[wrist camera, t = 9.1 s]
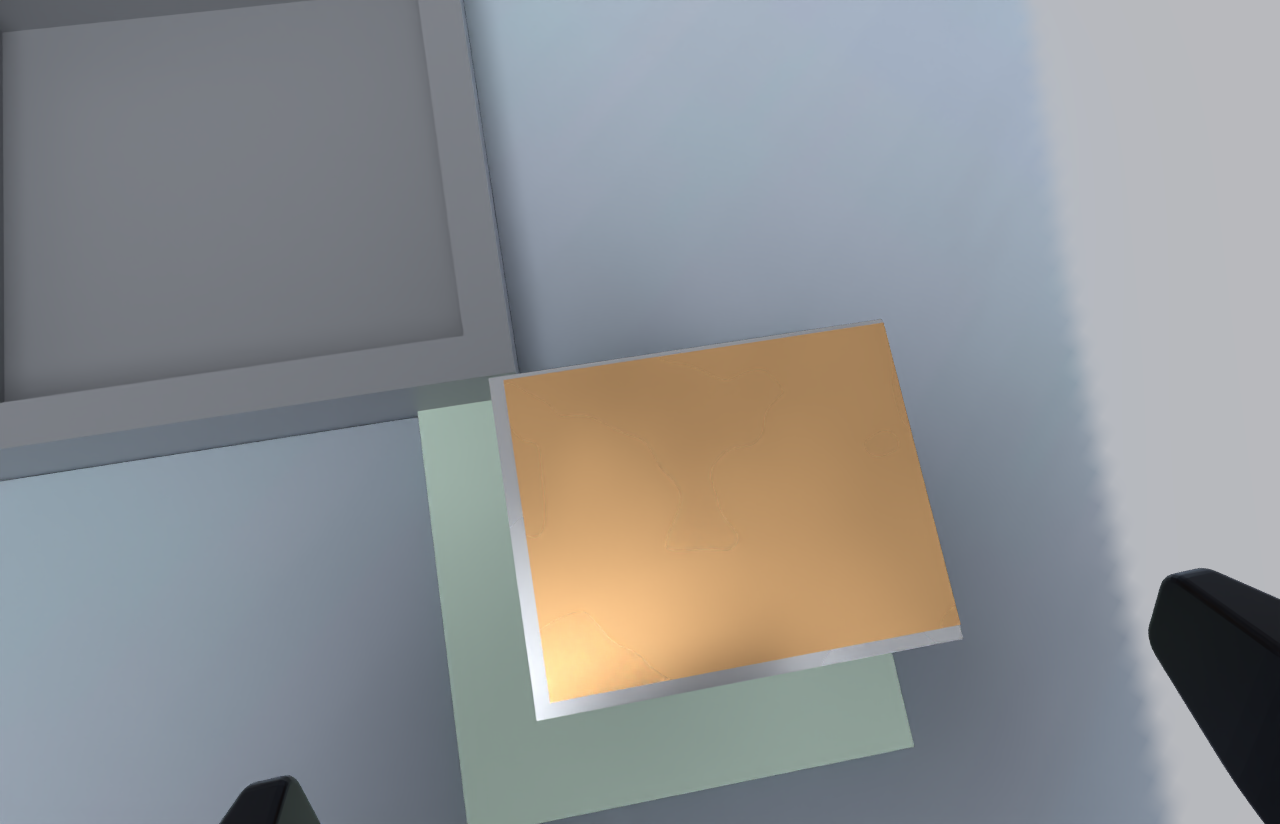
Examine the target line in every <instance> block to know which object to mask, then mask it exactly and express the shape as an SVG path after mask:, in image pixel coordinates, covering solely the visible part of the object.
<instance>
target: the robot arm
mask: <svg viewBox="0 0 1280 824" xmlns="http://www.w3.org/2000/svg"><path fill="white" fill-rule="evenodd" d="M1148 634H1149V640H1150V644H1151V647H1152V649H1153V651H1154V653H1155V655H1156V657H1157V658H1158V660H1159V662H1160V663H1161V665H1162V667H1163V668H1164V670H1165V671H1166V673H1167V675H1168V676H1169V678H1170V680H1171V681H1172V683H1173V684H1174V686H1175V688H1176V689H1177V691H1178V693H1179V694H1180V696H1181V697H1182V699H1183V701H1184V702H1185V704H1186V705H1187V707H1188V709H1189V710H1190V712H1191V714H1192V715H1193V717H1194V718H1195V720H1196V722H1197V723H1198V725H1199V727H1200V728H1201V730H1202V731H1203V733H1204V735H1205V736H1206V738H1207V740H1208V741H1209V743H1210V745H1211V746H1212V748H1213V749H1214V751H1215V752H1216V754H1217V756H1218V757H1219V759H1220V761H1221V762H1222V764H1223V765H1224V767H1225V768H1226V770H1227V772H1228V773H1229V775H1230V776H1231V778H1232V779H1233V781H1234V782H1235V784H1236V785H1237V787H1238V788H1239V789H1240V791H1241V792H1242V794H1243V795H1244V796H1245V797H1246V799H1247V801H1248V802H1249V803H1250V805H1251V806H1252V807H1253V809H1254V810H1255V811H1256V813H1257V814H1258V815H1259V817H1260V818H1261V820H1262V821H1263V822H1264V823H1265V824H1280V599H1278V598H1276V597H1273V596H1271V595H1269V594H1267V593H1264V592H1262V591H1260V590H1257V589H1255V588H1253V587H1251V586H1248V585H1246V584H1244V583H1242V582H1239V581H1237V580H1235V579H1232V578H1230V577H1228V576H1226V575H1223V574H1221V573H1219V572H1216V571H1214V570H1211V569H1206V568H1198V569H1193V570H1188V571H1183V572H1179V573H1175V574H1171V575H1169V576H1167V577H1166V578H1165V579H1164V580H1163V581H1162V583H1161V586H1160V589H1159V593H1158V597H1157V600H1156V603H1155V607H1154V610H1153V614H1152V617H1151V621H1150V624H1149V629H1148ZM219 824H320V822H319V820H318V818H317V816H316V814H315V812H314V810H313V809H312V807H311V805H310V803H309V801H308V799H307V797H306V795H305V794H304V792H303V790H302V788H301V786H300V784H299V783H298V781H297V780H296V779H295V778H294V777H292V776H290V775H285V776H280V777H276V778H271V779H267V780H263V781H258V782H255V783H252V784H250V785H249V786H247V787H246V788H245V789H244V790H243V791H242V792H241V793H240V795H239V796H238V798H237V799H236V800H235V802H234V803H233V805H232V806H231V808H230V809H229V811H228V812H227V813H226V815H225V816H224V818H223V819H222V821H221V822H220V823H219Z"/></svg>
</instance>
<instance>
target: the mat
mask: <svg viewBox="0 0 1280 824" xmlns="http://www.w3.org/2000/svg"><path fill="white" fill-rule="evenodd" d="M418 419H419V427H420V436H421V444H422V452H423V461H424V469H425V477H426V486H427V494H428V502H429V511H430V519H431V527H432V536H433V544H434V552H435V561H436V569H437V577H438V586H439V594H440V602H441V611H442V619H443V627H444V636H445V644H446V652H447V661H448V669H449V677H450V686H451V694H452V702H453V711H454V719H455V727H456V736H457V744H458V752H459V761H460V769H461V777H462V786H463V794H464V802H465V811H466V819H467V824H539V823H544V822H549V821H554V820H558V819H563V818H568V817H573V816H578V815H583V814H588V813H593V812H598V811H602V810H607V809H612V808H617V807H622V806H627V805H632V804H637V803H642V802H647V801H651V800H656V799H661V798H666V797H671V796H676V795H681V794H686V793H691V792H695V791H700V790H705V789H710V788H715V787H720V786H725V785H730V784H735V783H740V782H744V781H749V780H754V779H759V778H764V777H769V776H774V775H779V774H784V773H789V772H793V771H798V770H803V769H808V768H813V767H818V766H823V765H828V764H833V763H837V762H842V761H847V760H852V759H857V758H862V757H867V756H872V755H877V754H882V753H886V752H891V751H896V750H901V749H906V748H911V747H914V744H913V740H912V735H911V731H910V727H909V723H908V718H907V714H906V710H905V706H904V701H903V697H902V693H901V689H900V684H899V680H898V676H897V672H896V668H895V663H894V659H893V655H892V653H888V654H883V655H878V656H873V657H867V658H862V659H857V660H852V661H847V662H841V663H836V664H831V665H826V666H821V667H815V668H810V669H805V670H800V671H795V672H789V673H784V674H779V675H774V676H768V677H763V678H758V679H753V680H748V681H742V682H737V683H732V684H727V685H722V686H716V687H711V688H706V689H701V690H696V691H690V692H685V693H680V694H675V695H670V696H664V697H659V698H654V699H649V700H644V701H638V702H633V703H628V704H623V705H618V706H612V707H607V708H602V709H597V710H591V711H586V712H581V713H576V714H571V715H565V716H560V717H555V718H550V719H545V720H539V721H537V719H536V712H535V705H534V698H533V691H532V684H531V677H530V670H529V662H528V655H527V648H526V641H525V634H524V627H523V620H522V613H521V606H520V599H519V592H518V584H517V577H516V570H515V563H514V556H513V549H512V542H511V535H510V528H509V521H508V514H507V506H506V499H505V492H504V485H503V478H502V471H501V464H500V457H499V450H498V443H497V435H496V428H495V421H494V414H493V407H492V400H488V401H482V402H475V403H469V404H462V405H456V406H449V407H443V408H436V409H430V410H423V411H418Z"/></svg>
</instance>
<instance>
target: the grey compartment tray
mask: <svg viewBox="0 0 1280 824" xmlns="http://www.w3.org/2000/svg"><path fill="white" fill-rule="evenodd" d="M514 374H519V368H518V361H517V354H516V348H515V341H514V334H513V328H512V321H511V314H510V307H509V301H508V294H507V287H506V281H505V274H504V267H503V261H502V254H501V247H500V241H499V234H498V227H497V221H496V214H495V207H494V201H493V194H492V187H491V181H490V174H489V167H488V161H487V154H486V147H485V141H484V134H483V127H482V121H481V114H480V107H479V101H478V94H477V87H476V81H475V74H474V67H473V61H472V54H471V47H470V41H469V34H468V27H467V21H466V14H465V7H464V1H463V0H0V481H5V480H11V479H18V478H24V477H31V476H37V475H44V474H50V473H57V472H63V471H70V470H76V469H83V468H89V467H96V466H102V465H109V464H115V463H122V462H128V461H135V460H141V459H148V458H154V457H161V456H167V455H174V454H180V453H186V452H193V451H199V450H206V449H212V448H219V447H225V446H232V445H238V444H245V443H251V442H258V441H264V440H271V439H277V438H284V437H290V436H297V435H303V434H310V433H316V432H323V431H329V430H336V429H342V428H349V427H355V426H362V425H368V424H375V423H381V422H388V421H394V420H401V419H407V418H414V417H418V411H423V410H430V409H436V408H443V407H449V406H456V405H462V404H469V403H475V402H482V401H488V400H491V393H490V386H489V379H488V378H494V377H500V376H507V375H514Z"/></svg>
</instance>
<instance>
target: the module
mask: <svg viewBox="0 0 1280 824" xmlns="http://www.w3.org/2000/svg"><path fill="white" fill-rule="evenodd" d="M488 379H489V386H490V393H491V400H492V407H493V414H494V421H495V428H496V435H497V443H498V450H499V457H500V464H501V471H502V478H503V485H504V492H505V499H506V506H507V514H508V521H509V528H510V535H511V542H512V549H513V556H514V563H515V570H516V577H517V584H518V592H519V599H520V606H521V613H522V620H523V627H524V634H525V641H526V648H527V655H528V662H529V670H530V677H531V684H532V691H533V698H534V705H535V712H536V719H537V721H539V720H545V719H550V718H555V717H560V716H565V715H571V714H576V713H581V712H586V711H591V710H597V709H602V708H607V707H612V706H618V705H623V704H628V703H633V702H638V701H644V700H649V699H654V698H659V697H664V696H670V695H675V694H680V693H685V692H690V691H696V690H701V689H706V688H711V687H716V686H722V685H727V684H732V683H737V682H742V681H748V680H753V679H758V678H763V677H768V676H774V675H779V674H784V673H789V672H795V671H800V670H805V669H810V668H815V667H821V666H826V665H831V664H836V663H841V662H847V661H852V660H857V659H862V658H867V657H873V656H878V655H883V654H888V653H893V652H899V651H904V650H909V649H914V648H919V647H925V646H930V645H935V644H940V643H945V642H951V641H956V640H961V639H963V636H962V633H961V629H960V625H961V624H960V620H959V616H958V612H957V608H956V604H955V600H954V597H953V593H952V589H951V585H950V581H949V577H948V573H947V569H946V565H945V561H944V557H943V553H942V550H941V546H940V542H939V538H938V534H937V530H936V526H935V522H934V518H933V514H932V510H931V507H930V503H929V499H928V495H927V491H926V487H925V483H924V479H923V475H922V471H921V467H920V463H919V460H918V456H917V452H916V448H915V444H914V440H913V436H912V432H911V428H910V424H909V420H908V417H907V413H906V409H905V405H904V401H903V397H902V393H901V389H900V385H899V381H898V377H897V373H896V370H895V366H894V362H893V358H892V354H891V350H890V346H889V342H888V338H887V334H886V330H885V327H884V323H882V319H878V320H872V321H865V322H858V323H852V324H845V325H838V326H832V327H825V328H819V329H812V330H805V331H799V332H792V333H785V334H779V335H772V336H766V337H759V338H752V339H746V340H739V341H732V342H726V343H719V344H713V345H706V346H699V347H693V348H686V349H679V350H673V351H666V352H659V353H653V354H646V355H640V356H633V357H626V358H620V359H613V360H606V361H600V362H593V363H587V364H580V365H573V366H567V367H560V368H553V369H547V370H540V371H534V372H527V373H520V374H514V375H507V376H500V377H494V378H488Z"/></svg>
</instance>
